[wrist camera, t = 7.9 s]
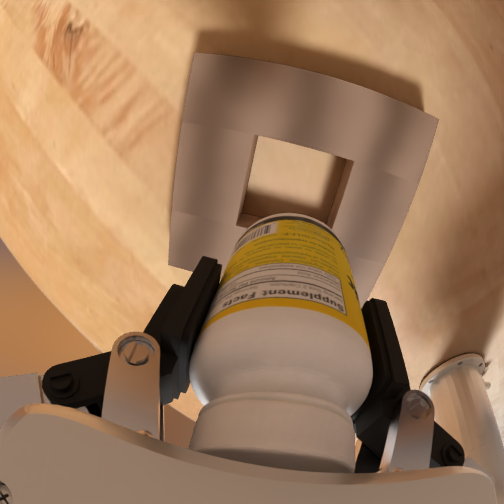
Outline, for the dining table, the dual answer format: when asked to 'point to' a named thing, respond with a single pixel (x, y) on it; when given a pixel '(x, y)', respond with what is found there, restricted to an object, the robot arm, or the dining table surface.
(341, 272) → the supplement bottle
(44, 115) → the dining table surface
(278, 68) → the walnut board
